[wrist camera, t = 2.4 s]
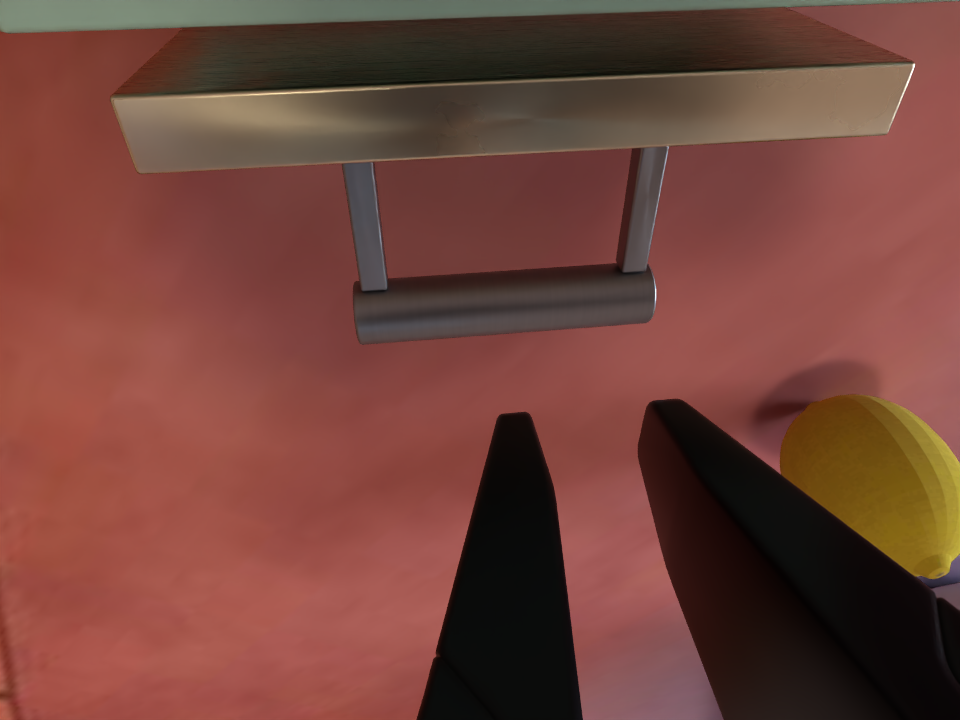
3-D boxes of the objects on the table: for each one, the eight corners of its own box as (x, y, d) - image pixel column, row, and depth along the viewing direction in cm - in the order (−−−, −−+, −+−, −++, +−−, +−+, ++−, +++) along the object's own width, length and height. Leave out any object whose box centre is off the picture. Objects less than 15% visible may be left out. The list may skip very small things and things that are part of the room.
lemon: (744, 462, 29) (843, 633, 22) (750, 374, 25) (868, 548, 19) (867, 432, 28) (1002, 598, 22) (890, 338, 25) (1058, 504, 19)
